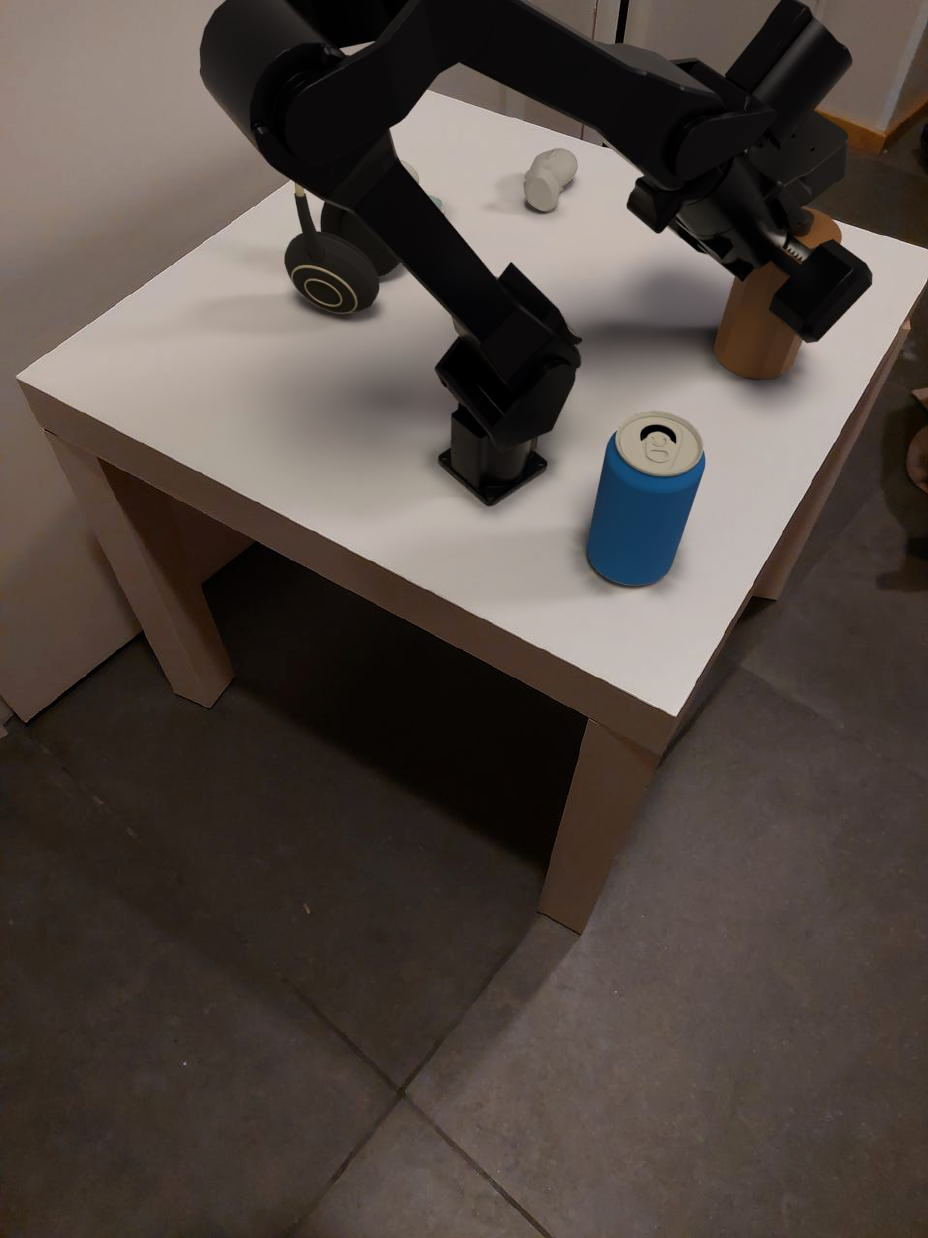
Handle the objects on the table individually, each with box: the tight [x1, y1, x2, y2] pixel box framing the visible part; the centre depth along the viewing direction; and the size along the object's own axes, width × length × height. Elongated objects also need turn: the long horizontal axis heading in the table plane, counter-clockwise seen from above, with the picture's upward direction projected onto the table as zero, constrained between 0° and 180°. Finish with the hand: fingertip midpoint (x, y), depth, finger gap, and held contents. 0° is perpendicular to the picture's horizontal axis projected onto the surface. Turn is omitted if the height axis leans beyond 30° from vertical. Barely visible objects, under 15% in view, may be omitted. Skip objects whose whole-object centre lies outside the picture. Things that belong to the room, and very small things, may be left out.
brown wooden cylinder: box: [712, 205, 843, 381], centre depth 75 cm, size 7×7×13 cm
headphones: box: [283, 54, 401, 315], centre depth 76 cm, size 9×15×20 cm, turn 160°
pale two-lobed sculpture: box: [524, 147, 579, 212], centre depth 93 cm, size 4×8×5 cm
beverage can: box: [586, 410, 706, 587], centre depth 63 cm, size 6×6×12 cm
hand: (788, 283), depth 76 cm, fingers closed on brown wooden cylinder, 7 cm apart
